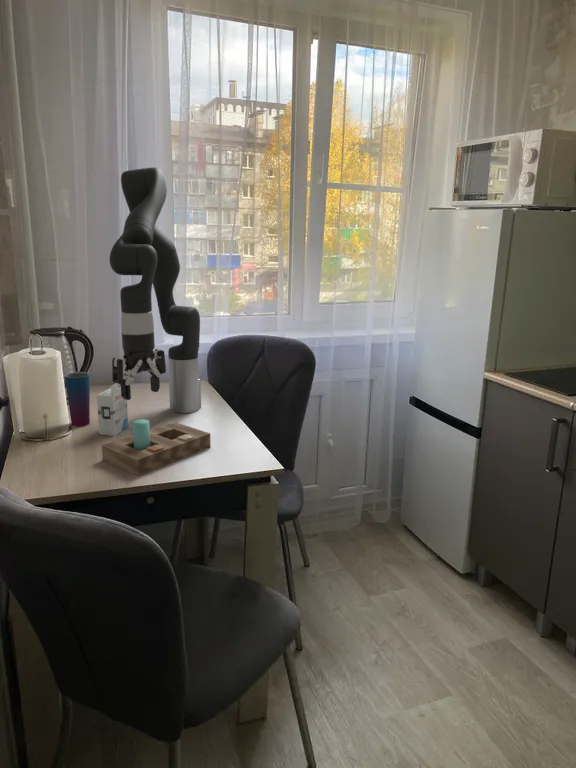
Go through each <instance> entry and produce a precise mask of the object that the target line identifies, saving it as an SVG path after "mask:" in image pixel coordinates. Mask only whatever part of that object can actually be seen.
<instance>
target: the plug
mask: <svg viewBox="0 0 576 768" xmlns="http://www.w3.org/2000/svg"><path fill="white" fill-rule="evenodd" d="M150 427H151V426H150V420H149V419H136V420H133V421H132V432H133V433H132V434H133V435H132V436H134V449H137V450H139V451H141V450H144V449H147V448H148V447H150V430H151V428H150Z"/></svg>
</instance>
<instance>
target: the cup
mask: <svg viewBox="0 0 576 768" xmlns="http://www.w3.org/2000/svg"><path fill="white" fill-rule="evenodd" d="M90 377H91V376H90V373H89V372H85V371H74V372H68V373H65V374H64V381H65V388H66V394H67V402H68V408H69V414H70V415H69V416H70V423H71V425H72V426H73V427H77V428H78V427H86V426H88V425H90V422H91V421H90V413H91V412H90V405H91V402H90V399H91V398H90V397H91V396H90V382H91V381H90Z"/></svg>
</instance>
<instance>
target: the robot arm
mask: <svg viewBox="0 0 576 768" xmlns="http://www.w3.org/2000/svg"><path fill="white" fill-rule="evenodd" d="M166 182H167V181H166V178H165V175H164V174H163V172H162V170H161V169H160V168H157V167H144V168H137V169H129V170H126V171H123V172H122V173H121V175H120V183H121V189H122V194H123V197H124V199H125V203H126V205H127V208H128V210H129V214H128V216H127V217H126V219H125V222H124V226H123V232H122V234H121V235H120V236H119V238H118V239H117V240H116V241H115V243H114V244H113V245H112V247H111V250H110V254H109V264H110V265H109V266H110V268H111V270H112V272H114V273H115V274H117V275H119V276H141V280H140V281H139V282H138V283H135V284H130V285H126V286H123V287H122V288H121V289H120V293H119V294H120V295H119V296H120V310H121V311H120V313H121V314H120V315H121V316H120V328H121V329H120V330H121V341H122V342H121V347H122V350H123V356H122V357H120V358H118V357H113V358H112V360H111V367H112V369H111V371H112V372H111V373H112V375H111V376H112V383H114V384H116V383H118V384H120V385H119V386H120V387H121V396H122V397H123V398H124V399H126V400H127V401H130V400H131V399H132V393H131V381H132V379H133V378H134V377H135V376H136V374H140V373H142V372H148V374H149V375H150V377H149V379H150V380H149V381H150V391H151V392H154V393H157V392H159V390H160V388H161V384H160V377H161V375H162V374H166V372H167V368H166V367H167V365H166V356H165V351H164V350H163V349H158V348H155V347H156V346H155V345H156V344H155V328H154V327H155V326H154V325H155V324H154V323H155V322H154V316H153V309H152V308H153V306H152V305H153V304H152V288H153V290H154V293H155V297H156V303H157V308H158V312H159V313H158V314H159V319H160V322H161V323H160V324H161V326H162V329H163V330H164V332H165V333H166V334H168V335H170V336H177V337H179V336H180V337H182V342H181V343H180V344H178V345H174V346H171V347H169V349H168V354H167V355H168V359H167V360H168V380H169V381H168V384H169V385H168V386H169V389H168V390H169V410H170V411H171V412H172V413H178V414H188V413H189V414H190V413H194V412H197V411H198V410H199V409H200V408H202V386H201V385H202V380H201V379H200V378H199V350H200V334H201V333H200V332H201V317H200V313H199V310H198V309H197V308H196V307H192V306H185V305H184V306H183V305H177V304H176V302H175V300H174V294H173V293H174V288H175V285H176V282H177V280H178V278H179V275H180V270H181V264H180V261H179V260H180V259H179V256H178V252H177V249H176V246H175V244H174V242H173V241H172V239H171V238H169V236H167V234H166V233H165V232H163V231H162V230H161V229H160V228H159V227H158V226H157V224H156V222H157V220H158V219H159V216H160V214H161V212H162V210H163V209H162V208H164V207H163V206H164V205H165V202H166V199H167V192H168V191H167V183H166Z"/></svg>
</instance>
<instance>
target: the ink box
mask: <svg viewBox="0 0 576 768" xmlns="http://www.w3.org/2000/svg"><path fill="white" fill-rule="evenodd" d="M96 405H97V417H98V430H99V431H98V433H99V435H103V436H111V437H115V436H117V435H118V434H119V433H121V432H122V431H124V430H125V429H126V428H128V427H129V418H128V416H129V415H128V400H126V399H124V398H123V397H122V396H121V385H120V384H118V383H114V384H112V385H111V387H109V388H107V389H106V390H104V391H102V392H101V393H98V394H96Z"/></svg>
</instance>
